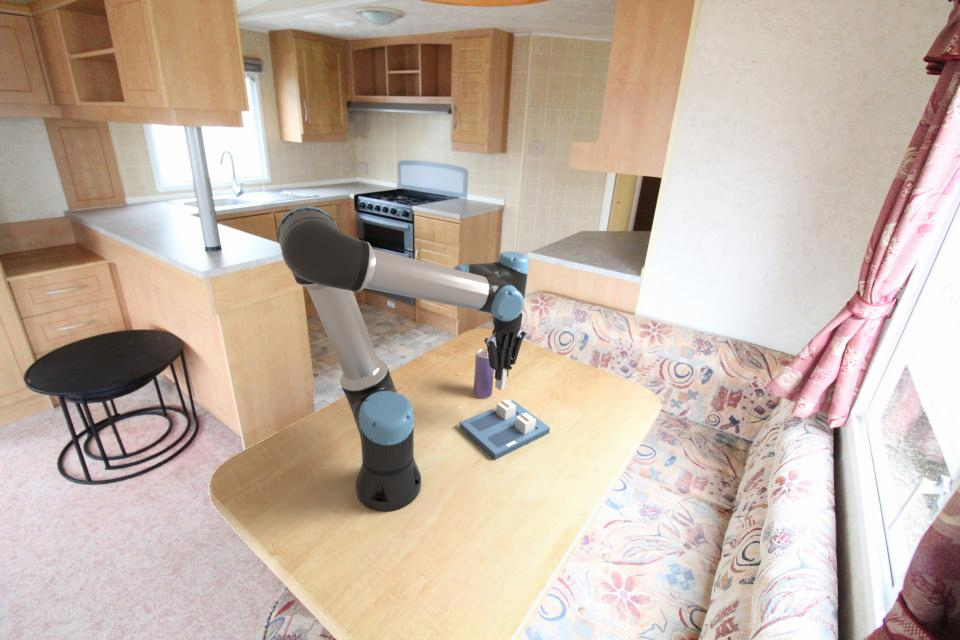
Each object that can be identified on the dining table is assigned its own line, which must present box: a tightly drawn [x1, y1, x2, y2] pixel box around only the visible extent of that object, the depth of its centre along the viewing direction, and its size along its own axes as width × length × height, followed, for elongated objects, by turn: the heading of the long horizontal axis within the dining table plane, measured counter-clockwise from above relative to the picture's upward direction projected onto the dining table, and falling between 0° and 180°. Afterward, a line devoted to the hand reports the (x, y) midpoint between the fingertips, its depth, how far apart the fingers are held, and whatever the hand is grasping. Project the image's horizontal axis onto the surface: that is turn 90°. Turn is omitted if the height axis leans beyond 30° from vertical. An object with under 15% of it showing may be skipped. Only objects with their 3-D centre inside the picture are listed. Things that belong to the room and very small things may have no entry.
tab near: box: [515, 412, 536, 435], centre depth 130 cm, size 4×4×4 cm
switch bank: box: [459, 399, 551, 461], centre depth 132 cm, size 20×16×2 cm
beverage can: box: [473, 348, 495, 400], centre depth 145 cm, size 6×6×15 cm
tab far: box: [496, 398, 516, 420], centre depth 136 cm, size 4×4×4 cm
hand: (500, 387), depth 131 cm, fingers closed
